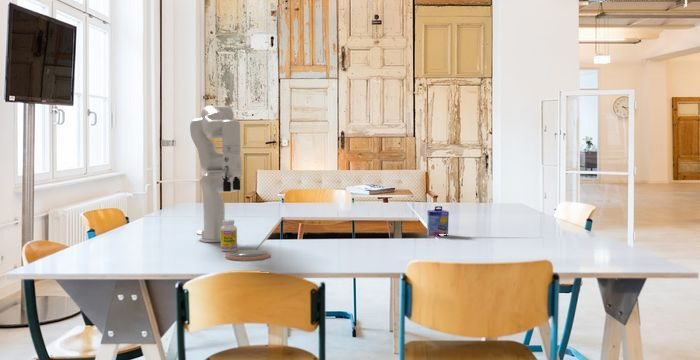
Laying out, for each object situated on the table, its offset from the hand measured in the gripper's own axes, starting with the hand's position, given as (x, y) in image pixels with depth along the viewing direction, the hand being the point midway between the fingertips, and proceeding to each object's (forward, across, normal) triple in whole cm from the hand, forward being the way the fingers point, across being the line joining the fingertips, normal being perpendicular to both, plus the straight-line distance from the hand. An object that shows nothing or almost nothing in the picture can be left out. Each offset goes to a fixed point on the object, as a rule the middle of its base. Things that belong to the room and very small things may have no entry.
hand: (231, 190), depth 269 cm
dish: (+26, -11, -11) cm, 30 cm away
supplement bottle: (+26, 0, +2) cm, 26 cm away
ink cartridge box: (+26, +63, -80) cm, 105 cm away
